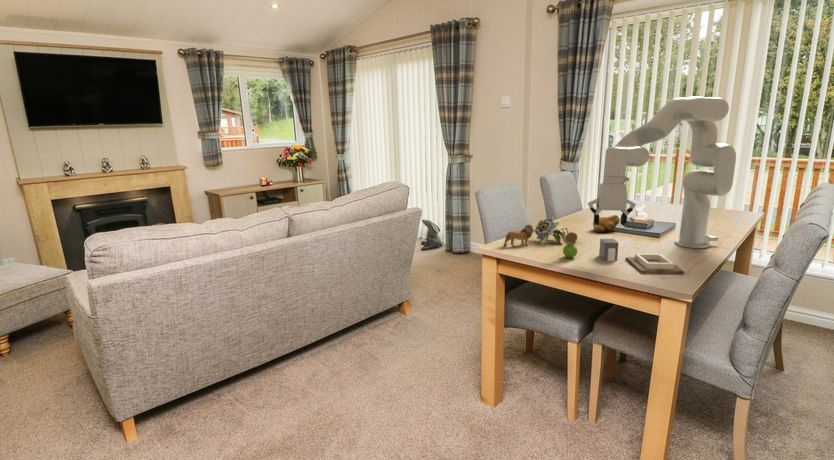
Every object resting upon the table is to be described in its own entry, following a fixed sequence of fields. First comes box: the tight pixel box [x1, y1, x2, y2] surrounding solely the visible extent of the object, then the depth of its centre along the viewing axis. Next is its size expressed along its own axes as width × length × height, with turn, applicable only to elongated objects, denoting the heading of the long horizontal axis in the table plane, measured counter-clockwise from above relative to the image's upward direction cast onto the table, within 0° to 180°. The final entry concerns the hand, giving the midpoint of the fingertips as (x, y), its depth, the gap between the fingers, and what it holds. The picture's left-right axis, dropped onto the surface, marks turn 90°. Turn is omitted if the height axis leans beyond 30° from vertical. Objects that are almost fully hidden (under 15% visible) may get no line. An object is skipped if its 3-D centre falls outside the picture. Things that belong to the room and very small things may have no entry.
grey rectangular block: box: [598, 238, 619, 262], centre depth 171 cm, size 5×7×7 cm
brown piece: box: [625, 253, 685, 275], centre depth 161 cm, size 14×16×3 cm
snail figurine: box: [561, 228, 578, 259], centre depth 173 cm, size 5×6×12 cm
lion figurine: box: [503, 223, 534, 248], centre depth 192 cm, size 15×5×9 cm, turn 110°
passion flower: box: [533, 216, 569, 245], centre depth 197 cm, size 13×12×14 cm
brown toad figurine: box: [592, 214, 620, 233], centre depth 213 cm, size 13×10×8 cm
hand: (609, 224), depth 169 cm, fingers open, 9 cm apart
